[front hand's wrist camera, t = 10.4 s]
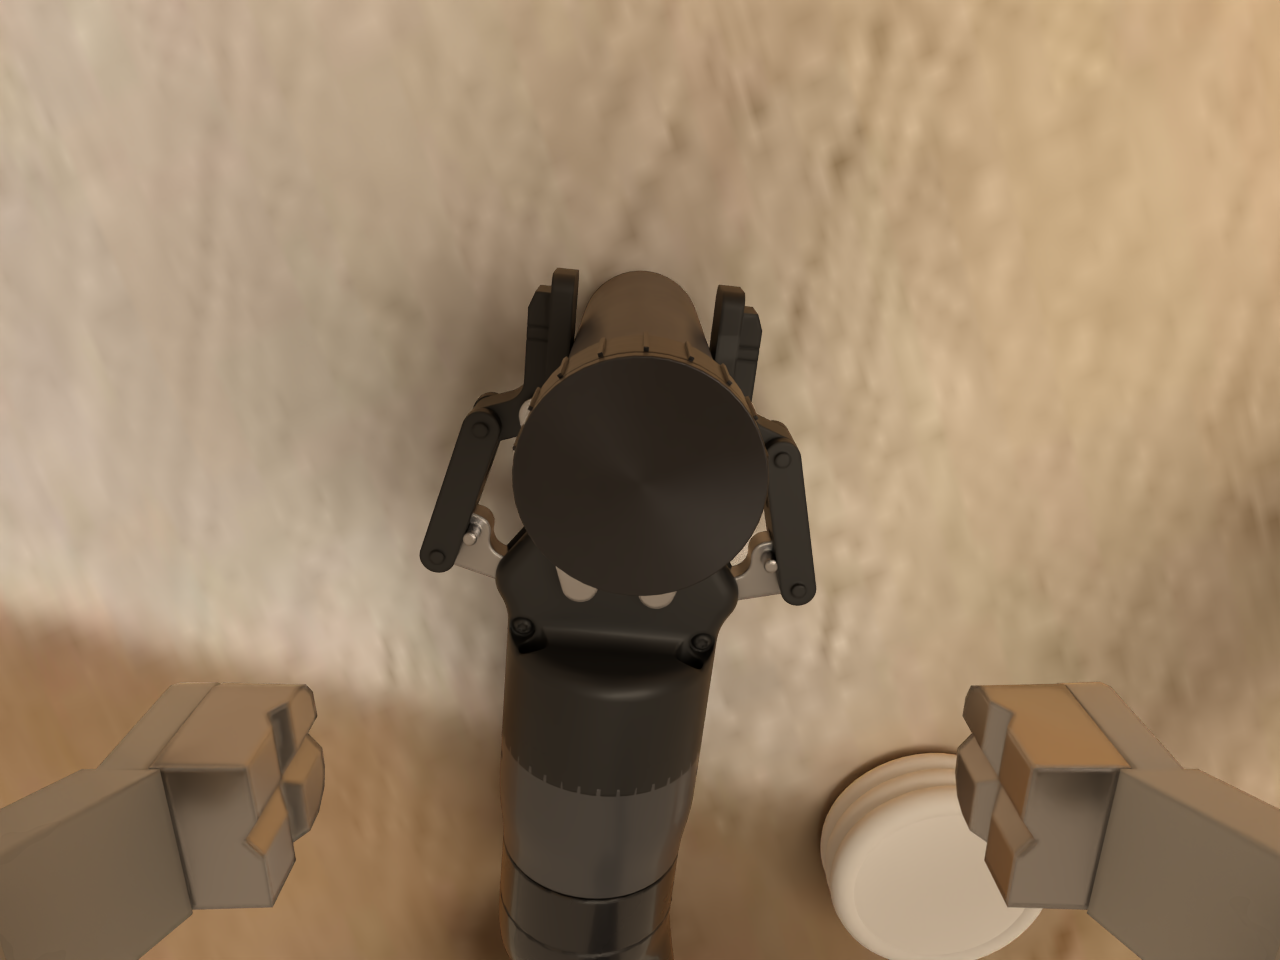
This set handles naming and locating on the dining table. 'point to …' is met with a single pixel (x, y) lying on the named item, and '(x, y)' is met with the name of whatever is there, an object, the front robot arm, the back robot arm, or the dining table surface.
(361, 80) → the dining table surface
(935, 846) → the cream short cylinder
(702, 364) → the lid
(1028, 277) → the dining table surface
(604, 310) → the brown cylindrical canister
